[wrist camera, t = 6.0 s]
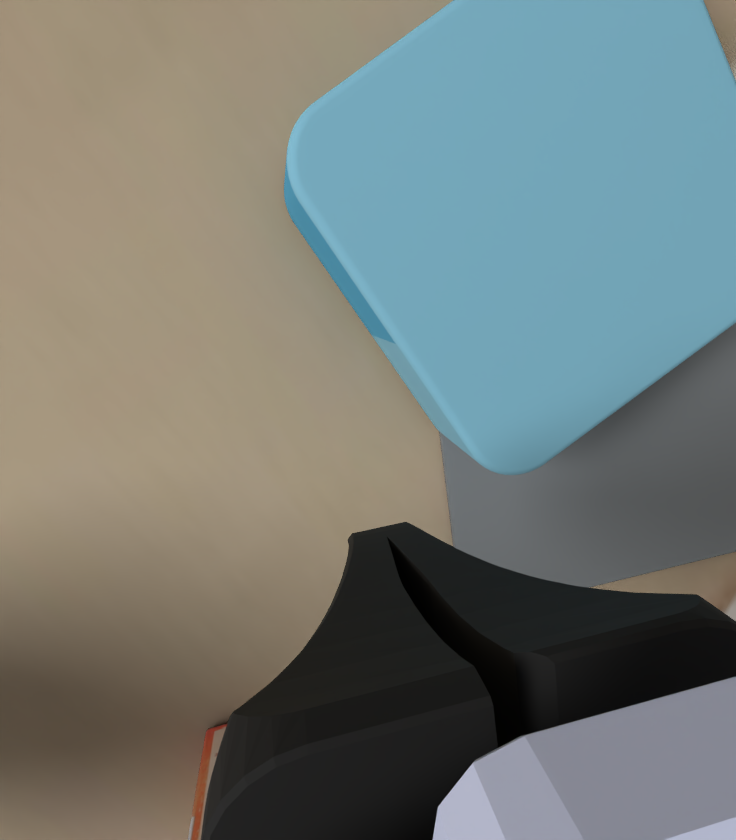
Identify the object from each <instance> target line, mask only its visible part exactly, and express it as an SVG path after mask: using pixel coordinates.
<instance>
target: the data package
mask: <svg viewBox="0 0 736 840" xmlns="http://www.w3.org/2000/svg"><path fill="white" fill-rule="evenodd" d="M284 197H285V202H286V206H287V210H288V212H289V214H290V217H291V219H292V220H293V222H294V224H295V225H296V226H297V228H298V229H299V231H300V232H301V234H302V235H303V237H304V238H305V239H306V241H307V242H308V244H309V245H310V247H311V248H312V250H313V251H314V252H315V254H316V255H317V257H318V258H319V260H320V261H321V263H322V264H323V266H324V267H325V268H326V270H327V271H328V273H329V274H330V276H331V277H332V279H333V280H334V281H335V283H336V284H337V286H338V287H339V289H340V290H341V292H342V293H343V294H344V296H345V297H346V299H347V300H348V302H349V303H350V305H351V306H352V307H353V309H354V310H355V312H356V313H357V315H358V316H359V318H360V319H361V320H362V322H363V323H364V325H365V326H366V328H367V329H368V331H369V332H370V333H371V335H372V336H373V338H374V339H375V341H376V342H377V344H378V345H379V346H380V348H381V349H382V351H383V352H384V354H385V355H386V357H387V358H388V359H389V361H390V362H391V364H392V365H393V367H394V368H395V370H396V371H397V372H398V374H399V375H400V377H401V378H402V380H403V381H404V383H405V384H406V385H407V387H408V388H409V390H410V391H411V393H412V394H413V396H414V397H415V398H416V400H417V401H418V403H419V404H420V406H421V407H422V409H423V410H424V411H425V413H426V414H427V416H428V417H429V419H430V420H431V422H432V423H433V424H434V426H435V427H436V428H437V429H438V430H439V431H440V432H441V433H442V434H443V435H444V436H446V437H447V438H448V439H449V440H451V441H452V442H453V443H454V444H455V445H457V446H458V447H459V448H460V449H462V450H463V451H464V452H465V453H467V454H468V455H469V456H470V457H472V458H473V459H474V460H475V461H477V462H478V463H479V464H480V465H482V466H483V467H485V468H486V469H488V470H490V471H492V472H495V473H498V474H503V475H520V474H524V473H528V472H531V471H533V470H535V469H537V468H539V467H541V466H542V465H544V464H545V463H547V462H548V461H549V460H551V459H552V458H553V457H555V456H556V455H557V454H559V453H560V452H561V451H563V450H564V449H565V448H567V447H568V446H570V445H571V444H572V443H574V442H575V441H576V440H578V439H579V438H580V437H582V436H583V435H584V434H586V433H587V432H589V431H590V430H591V429H593V428H594V427H595V426H597V425H598V424H599V423H601V422H602V421H603V420H605V419H606V418H607V417H609V416H610V415H612V414H613V413H614V412H616V411H617V410H618V409H620V408H621V407H622V406H624V405H625V404H626V403H628V402H629V401H631V400H632V399H633V398H635V397H636V396H637V395H639V394H640V393H641V392H643V391H644V390H645V389H647V388H648V387H649V386H651V385H652V384H654V383H655V382H656V381H658V380H659V379H660V378H662V377H663V376H664V375H666V374H667V373H668V372H670V371H671V370H673V369H674V368H675V367H677V366H678V365H679V364H681V363H682V362H683V361H685V360H686V359H687V358H689V357H690V356H691V355H693V354H694V353H696V352H697V351H698V350H700V349H701V348H702V347H704V346H705V345H706V344H708V343H709V342H710V341H712V340H713V339H715V338H716V337H717V336H719V335H720V334H721V333H723V332H724V331H725V330H727V329H728V328H729V327H731V326H732V325H733V324H735V323H736V81H735V78H734V76H733V73H732V71H731V68H730V66H729V63H728V61H727V58H726V56H725V53H724V51H723V48H722V46H721V43H720V41H719V38H718V36H717V33H716V31H715V28H714V26H713V23H712V21H711V18H710V16H709V13H708V11H707V8H706V6H705V3H704V1H703V0H453V1H452V2H451V3H449V4H448V5H447V6H445V7H444V8H442V9H441V10H440V11H438V12H437V13H436V14H434V15H433V16H432V17H430V18H429V19H427V20H426V21H425V22H423V23H422V24H421V25H419V26H418V27H417V28H415V29H414V30H412V31H411V32H410V33H408V34H407V35H406V36H404V37H403V38H401V39H400V40H399V41H397V42H396V43H395V44H393V45H392V46H391V47H389V48H388V49H386V50H385V51H384V52H382V53H381V54H380V55H378V56H377V57H375V58H374V59H373V60H371V61H370V62H369V63H367V64H366V65H365V66H363V67H362V68H360V69H359V70H358V71H356V72H355V73H354V74H352V75H351V76H350V77H348V78H347V79H345V80H344V81H343V82H341V83H340V84H339V85H337V86H336V87H334V88H333V89H332V90H330V91H329V92H328V93H326V94H325V95H324V96H322V97H321V98H319V99H318V100H317V101H315V102H314V103H313V104H312V105H310V106H309V107H308V108H307V109H306V110H305V111H304V112H303V114H302V115H301V116H300V118H299V119H298V121H297V122H296V124H295V126H294V128H293V130H292V133H291V136H290V139H289V143H288V148H287V158H286V170H285V183H284Z"/></svg>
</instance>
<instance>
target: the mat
mask: <svg viewBox="0 0 736 840" xmlns="http://www.w3.org/2000/svg"><path fill="white" fill-rule="evenodd" d="M439 433H440V441H441V449H442V458H443V466H444V474H445V482H446V490H447V498H448V506H449V514H450V523H451V531H452V539H453V547H455V548H457V549H459V550H461V551H463V552H465V553H467V554H469V555H472V556H474V557H477V558H479V559H481V560H484V561H486V562H489V563H491V564H494V565H497V566H499V567H502V568H505V569H509V570H512V571H515V572H518V573H522V574H525V575H528V576H532V577H536V578H540V579H544V580H549V581H554V582H559V583H564V584H569V585H574V586H580V587H587V588H589V587H593V586H597V585H601V584H605V583H609V582H613V581H617V580H621V579H625V578H630V577H634V576H638V575H642V574H646V573H650V572H654V571H658V570H662V569H666V568H670V567H675V566H679V565H683V564H687V563H691V562H695V561H699V560H703V559H707V558H711V557H716V556H720V555H724V554H728V553H732V552H736V323H735V324H733V325H732V326H731V327H729V328H728V329H727V330H725V331H724V332H723V333H721V334H720V335H719V336H717V337H716V338H715V339H713V340H712V341H710V342H709V343H708V344H706V345H705V346H704V347H702V348H701V349H700V350H698V351H697V352H696V353H694V354H693V355H691V356H690V357H689V358H687V359H686V360H685V361H683V362H682V363H681V364H679V365H678V366H677V367H675V368H674V369H673V370H671V371H670V372H668V373H667V374H666V375H664V376H663V377H662V378H660V379H659V380H658V381H656V382H655V383H654V384H652V385H651V386H649V387H648V388H647V389H645V390H644V391H643V392H641V393H640V394H639V395H637V396H636V397H635V398H633V399H632V400H631V401H629V402H628V403H626V404H625V405H624V406H622V407H621V408H620V409H618V410H617V411H616V412H614V413H613V414H612V415H610V416H609V417H607V418H606V419H605V420H603V421H602V422H601V423H599V424H598V425H597V426H595V427H594V428H593V429H591V430H590V431H589V432H587V433H586V434H584V435H583V436H582V437H580V438H579V439H578V440H576V441H575V442H574V443H572V444H571V445H570V446H568V447H567V448H565V449H564V450H563V451H561V452H560V453H559V454H557V455H556V456H555V457H553V458H552V459H551V460H549V461H548V462H547V463H545V464H544V465H542V466H541V467H539V468H537V469H535V470H533V471H531V472H528V473H524V474H520V475H503V474H498V473H495V472H492V471H490V470H488V469H486V468H485V467H483V466H482V465H480V464H479V463H478V462H477V461H475V460H474V459H473V458H472V457H470V456H469V455H468V454H467V453H465V452H464V451H463V450H462V449H460V448H459V447H458V446H457V445H455V444H454V443H453V442H452V441H451V440H449V439H448V438H447V437H446V436H444V435H443V434H442V433H441V432H440V431H439Z"/></svg>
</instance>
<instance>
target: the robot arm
mask: <svg viewBox="0 0 736 840" xmlns="http://www.w3.org/2000/svg"><path fill="white" fill-rule="evenodd" d="M348 543H349V551H348V557H347V562H346V565H345V569H344V572H343V576H342V579H341V582H340V584H339V587H338V589H337V592H336V594H335V596H334V599H333V601H332V603H331V605H330V607H329V609H328V611H327V613H326V615H325V617H324V619H323V620H322V622H321V624H320V625H319V627H318V629H317V630H316V632H315V633H314V635H313V636H312V637H311V639H310V640H309V642H308V643H307V645H306V646H305V647H304V649H303V650H302V651H301V652H300V654H299V655H298V656H297V657H296V658H295V659H294V660H293V661H292V662H291V663H290V664H289V665H288V666H287V667H286V668H285V669H284V670H283V671H282V672H281V673H280V674H279V675H278V676H277V677H276V678H275V679H274V680H273V681H272V682H271V683H270V684H268V685H267V686H266V687H265V688H263V689H262V690H261V691H260V692H258V693H257V694H256V695H255V696H253V697H252V698H251V699H250V700H248V701H247V702H246V703H245V704H243V705H242V706H241V707H240V708H238V709H237V710H235V711H234V712H233V713H232V714H231V716H230V718H229V721H228V723H227V726H226V729H225V732H224V735H223V738H222V741H221V744H220V747H219V751H218V754H217V758H216V761H215V765H214V768H213V772H212V776H211V780H210V784H209V788H208V793H207V798H206V804H205V811H204V818H203V826H202V834H201V840H736V621H734V620H733V619H731V618H730V617H729V616H727V615H726V614H724V613H723V612H722V611H720V610H719V609H717V608H716V607H714V606H713V605H712V604H710V603H709V602H707V601H706V600H704V599H703V598H701V597H700V596H698V595H693V594H658V593H632V592H621V591H611V590H602V589H594V588H587V587H580V586H574V585H569V584H564V583H559V582H554V581H549V580H544V579H540V578H536V577H532V576H528V575H525V574H522V573H518V572H515V571H512V570H509V569H505V568H502V567H499V566H497V565H494V564H491V563H489V562H486V561H484V560H481V559H479V558H477V557H474V556H472V555H469V554H467V553H465V552H463V551H461V550H459V549H457V548H455V547H453V546H451V545H449V544H447V543H445V542H443V541H441V540H439V539H437V538H435V537H433V536H432V535H430V534H428V533H426V532H424V531H422V530H421V529H419V528H417V527H415V526H413V525H411V524H410V523H407V522H403V523H399V524H394V525H389V526H385V527H380V528H376V529H371V530H366V531H362V532H357V533H352V534H351V536H350V537H349V539H348Z"/></svg>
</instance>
